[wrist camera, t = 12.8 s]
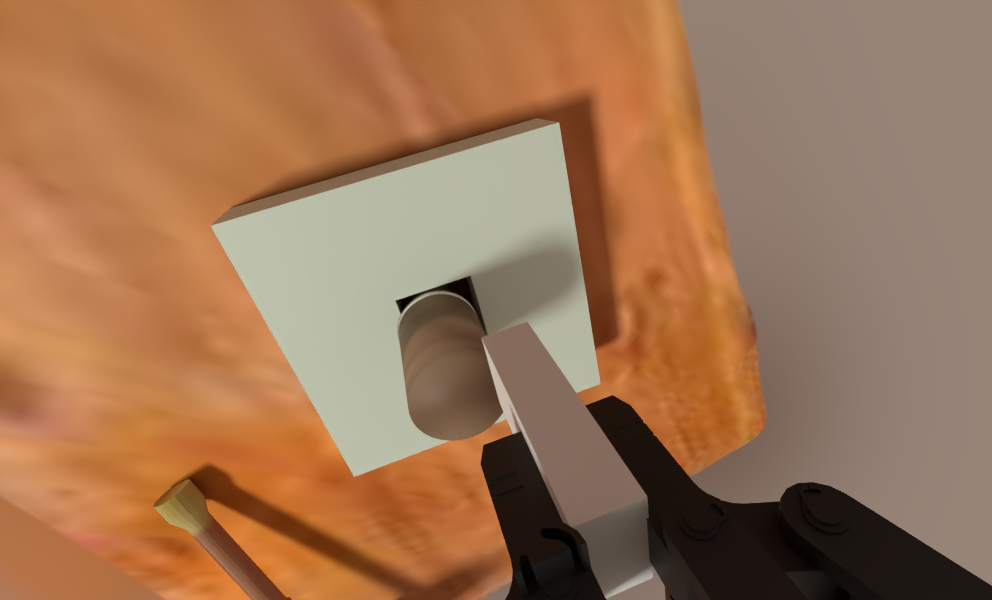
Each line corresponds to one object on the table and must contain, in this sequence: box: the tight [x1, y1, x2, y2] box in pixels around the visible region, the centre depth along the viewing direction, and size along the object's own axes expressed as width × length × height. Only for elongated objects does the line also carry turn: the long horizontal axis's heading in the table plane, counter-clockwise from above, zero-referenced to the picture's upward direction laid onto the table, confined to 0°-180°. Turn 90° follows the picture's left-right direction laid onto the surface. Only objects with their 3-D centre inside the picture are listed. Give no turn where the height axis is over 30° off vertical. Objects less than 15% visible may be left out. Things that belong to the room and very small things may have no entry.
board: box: [211, 118, 600, 477], centre depth 31 cm, size 20×20×4 cm
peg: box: [397, 283, 503, 441], centre depth 28 cm, size 5×5×12 cm
